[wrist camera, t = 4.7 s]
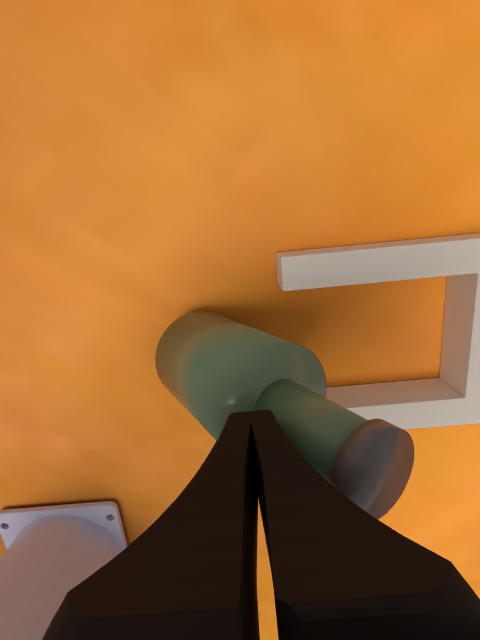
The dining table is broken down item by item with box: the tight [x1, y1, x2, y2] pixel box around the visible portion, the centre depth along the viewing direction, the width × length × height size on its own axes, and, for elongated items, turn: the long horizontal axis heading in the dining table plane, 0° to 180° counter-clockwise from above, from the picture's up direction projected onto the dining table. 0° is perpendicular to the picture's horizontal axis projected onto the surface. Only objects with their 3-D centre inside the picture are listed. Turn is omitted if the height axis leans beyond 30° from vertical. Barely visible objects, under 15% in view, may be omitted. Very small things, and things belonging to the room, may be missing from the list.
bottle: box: [155, 311, 414, 520], centre depth 13 cm, size 5×5×11 cm
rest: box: [275, 233, 480, 430], centre depth 18 cm, size 10×11×2 cm
